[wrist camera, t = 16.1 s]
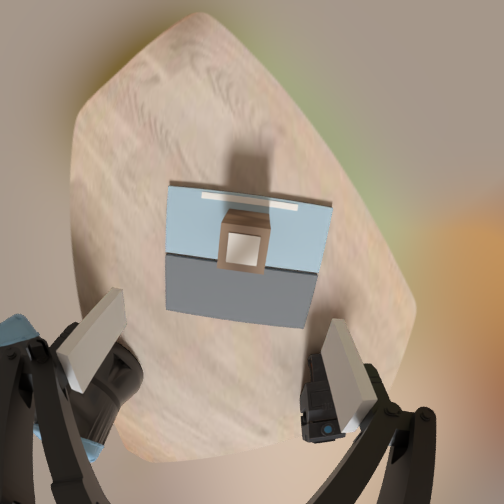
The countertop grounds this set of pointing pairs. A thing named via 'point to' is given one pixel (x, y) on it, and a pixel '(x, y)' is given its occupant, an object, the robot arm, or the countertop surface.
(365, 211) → the countertop surface
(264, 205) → the mat
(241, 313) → the mat
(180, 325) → the countertop surface
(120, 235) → the countertop surface
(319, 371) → the tool
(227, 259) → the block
